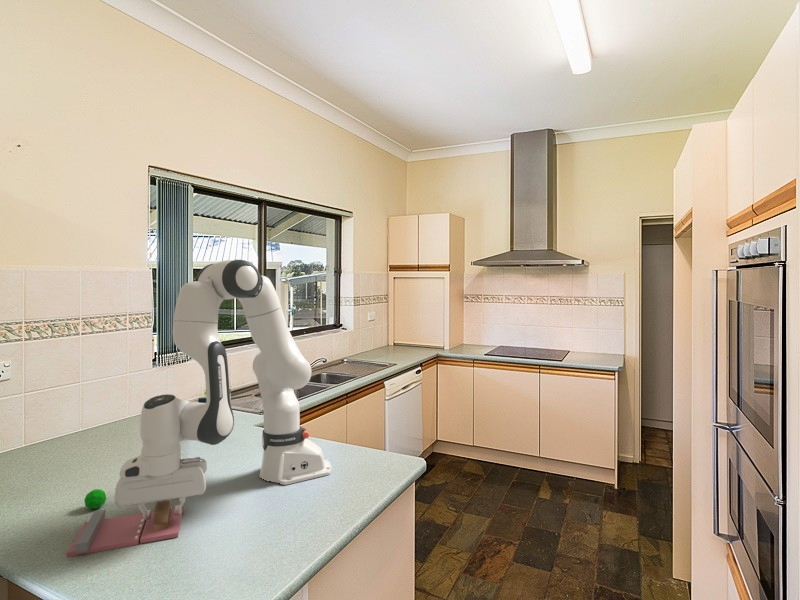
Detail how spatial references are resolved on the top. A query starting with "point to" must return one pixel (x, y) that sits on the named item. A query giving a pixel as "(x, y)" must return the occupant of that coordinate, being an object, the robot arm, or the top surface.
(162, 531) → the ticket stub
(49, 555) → the top surface
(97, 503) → the polyhedron
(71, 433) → the top surface
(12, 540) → the top surface
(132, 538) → the ticket
